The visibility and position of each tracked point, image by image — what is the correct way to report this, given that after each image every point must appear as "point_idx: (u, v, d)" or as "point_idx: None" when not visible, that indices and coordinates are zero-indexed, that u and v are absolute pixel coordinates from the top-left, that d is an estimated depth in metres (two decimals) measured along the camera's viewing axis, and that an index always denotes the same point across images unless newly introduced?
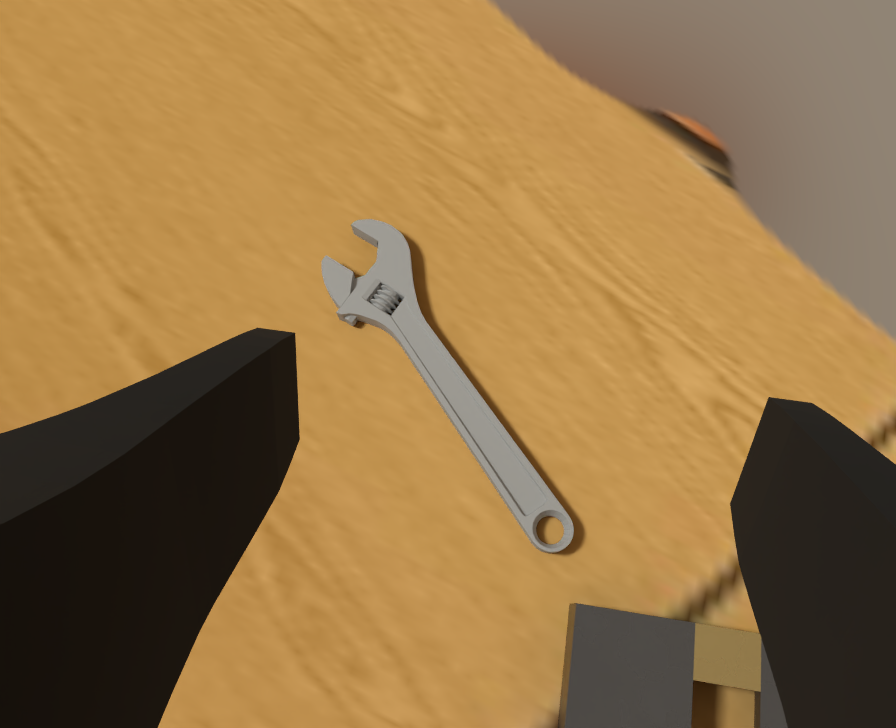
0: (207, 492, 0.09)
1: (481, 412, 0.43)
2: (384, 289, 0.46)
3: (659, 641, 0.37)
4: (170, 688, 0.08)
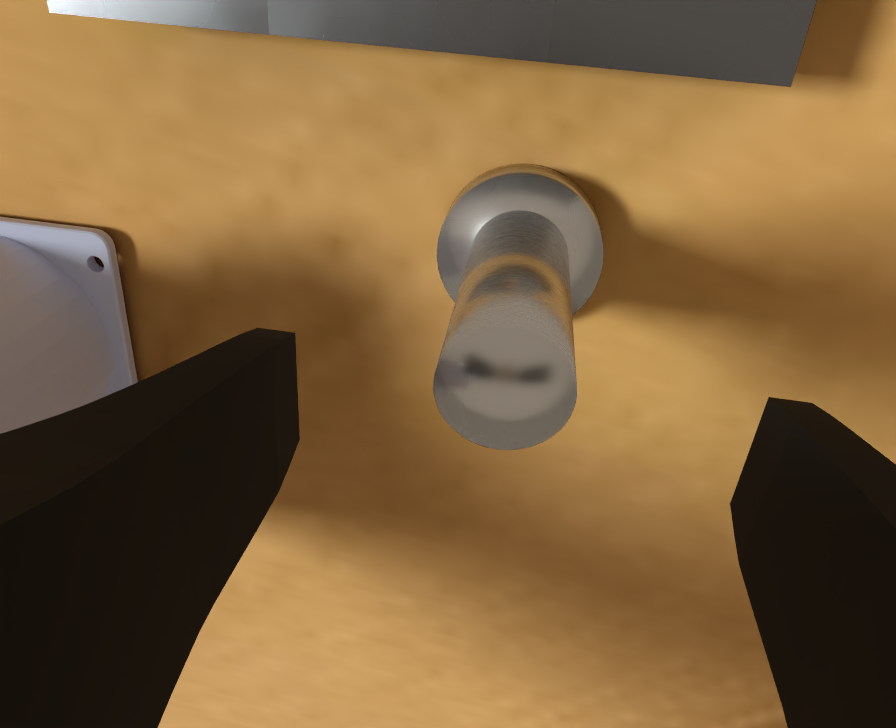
0: (207, 492, 0.09)
1: None
2: None
3: None
4: (170, 688, 0.08)
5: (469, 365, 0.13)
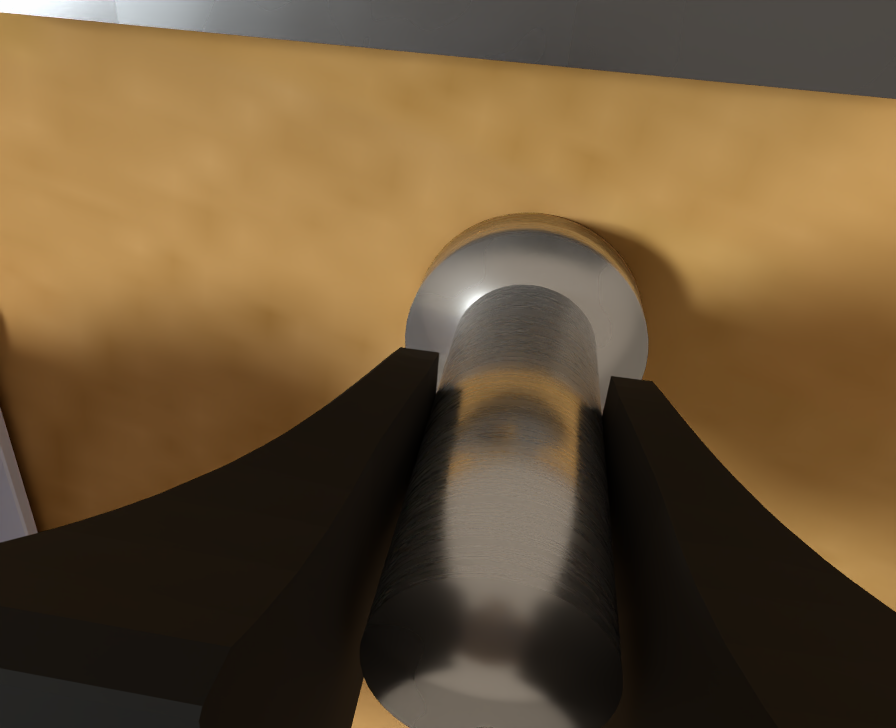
0: (384, 520, 0.08)
1: None
2: None
3: None
4: (350, 722, 0.08)
5: (423, 634, 0.07)
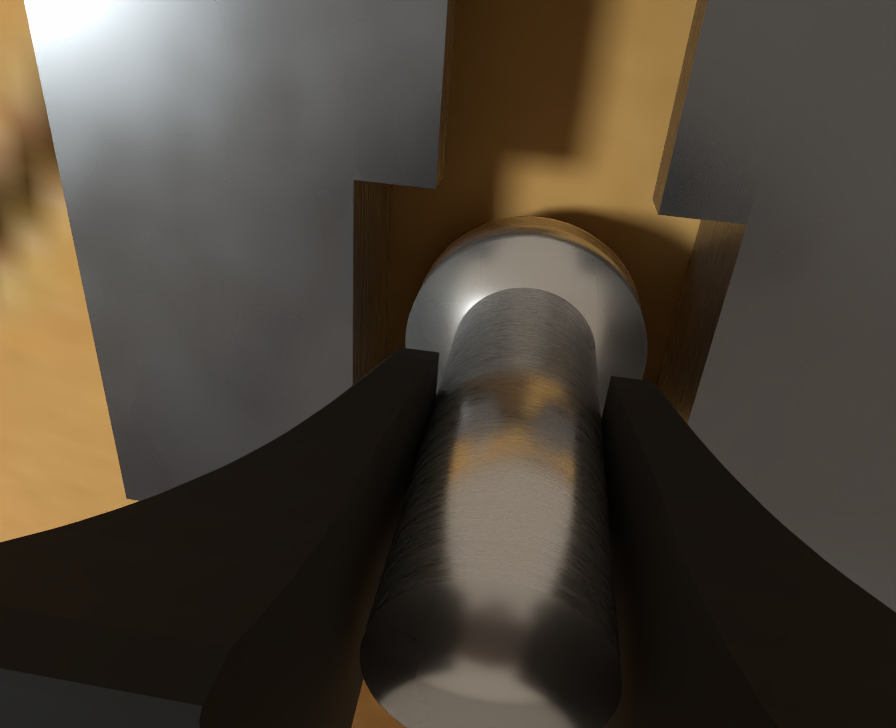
0: (384, 520, 0.08)
1: None
2: None
3: None
4: (350, 722, 0.08)
5: (421, 639, 0.07)
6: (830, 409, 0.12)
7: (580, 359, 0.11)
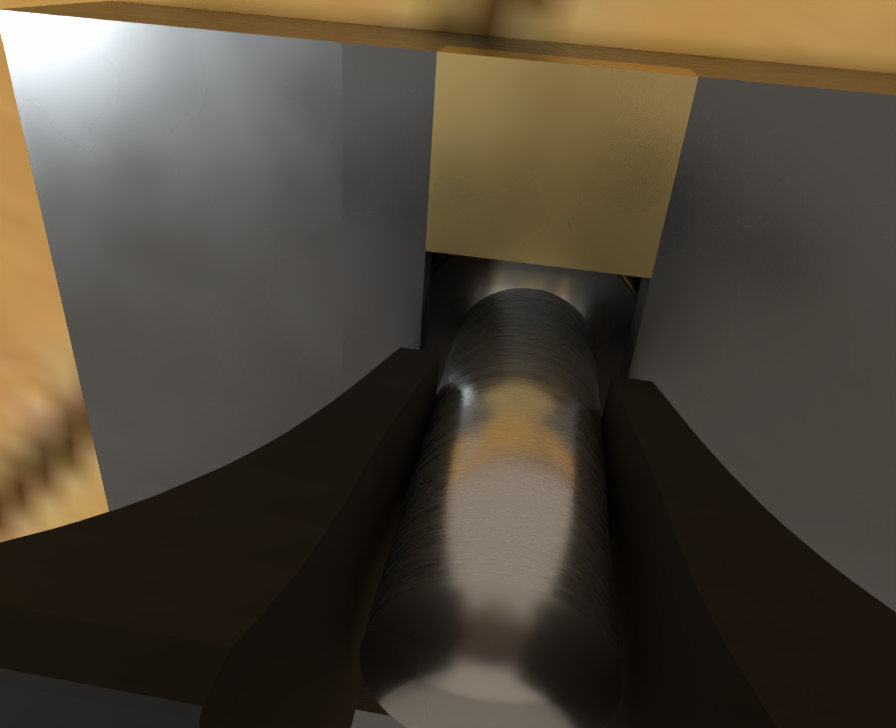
0: (384, 520, 0.08)
1: None
2: None
3: (307, 131, 0.10)
4: (351, 721, 0.08)
5: (421, 637, 0.07)
6: None
7: (580, 359, 0.11)
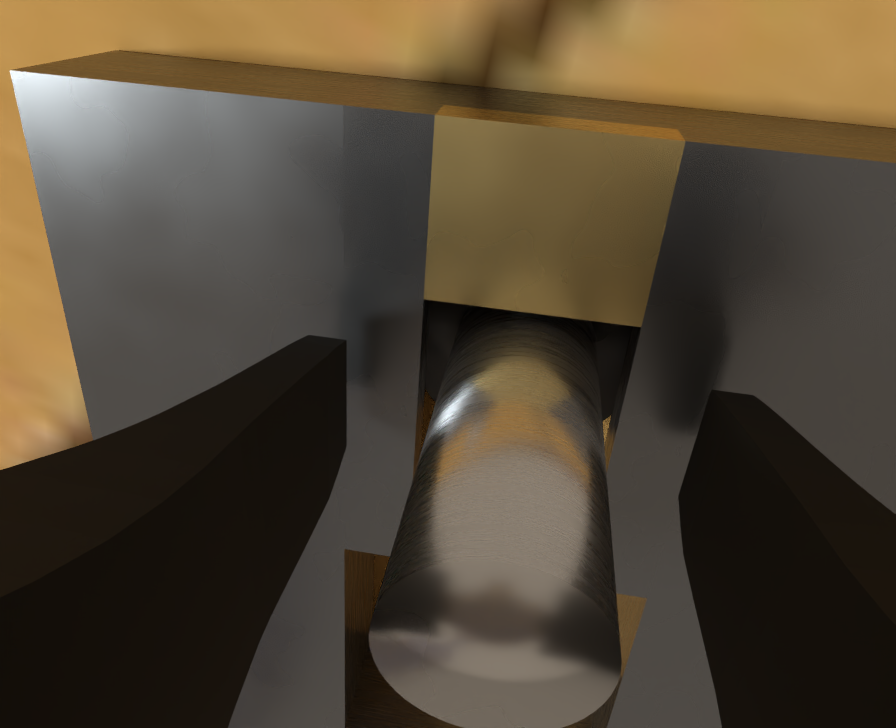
0: (270, 502, 0.09)
1: None
2: None
3: (309, 187, 0.10)
4: (234, 700, 0.08)
5: (429, 617, 0.07)
6: None
7: (581, 351, 0.11)
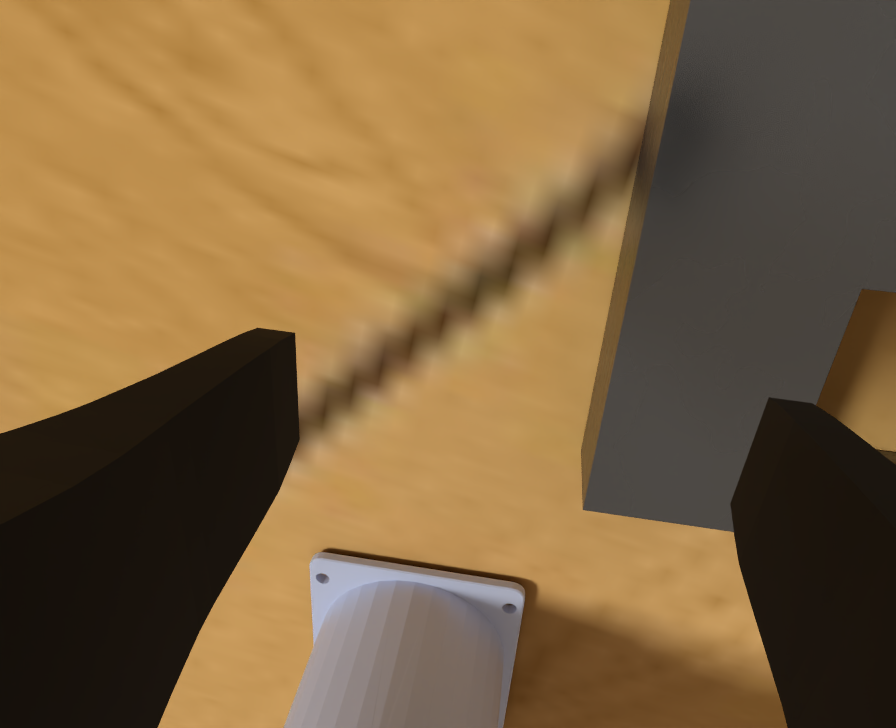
0: (207, 492, 0.09)
1: None
2: None
3: None
4: (170, 688, 0.08)
5: None
6: None
7: None
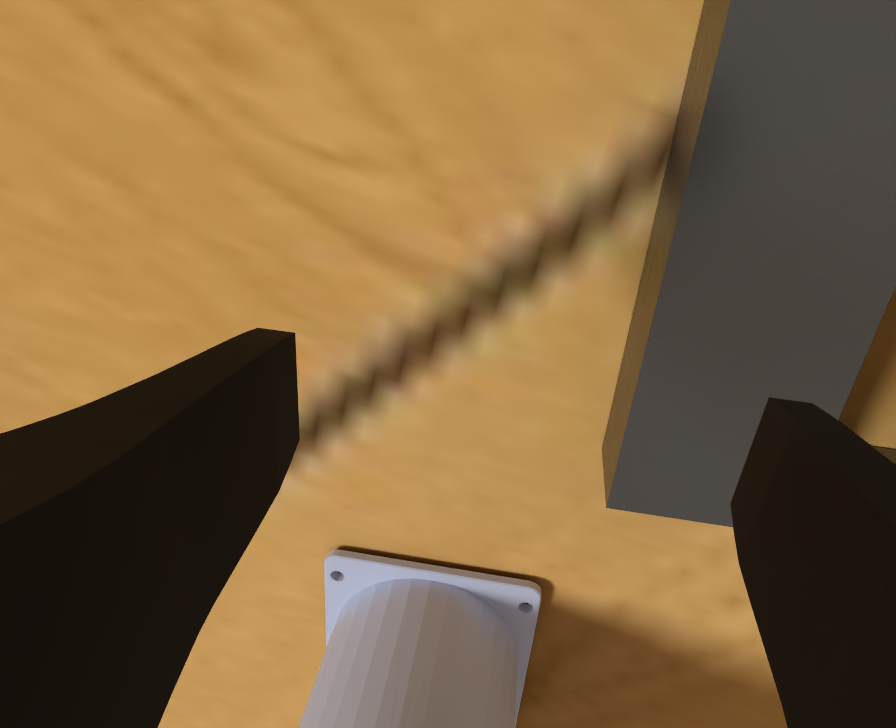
0: (207, 492, 0.09)
1: None
2: None
3: None
4: (170, 688, 0.08)
5: None
6: None
7: None
